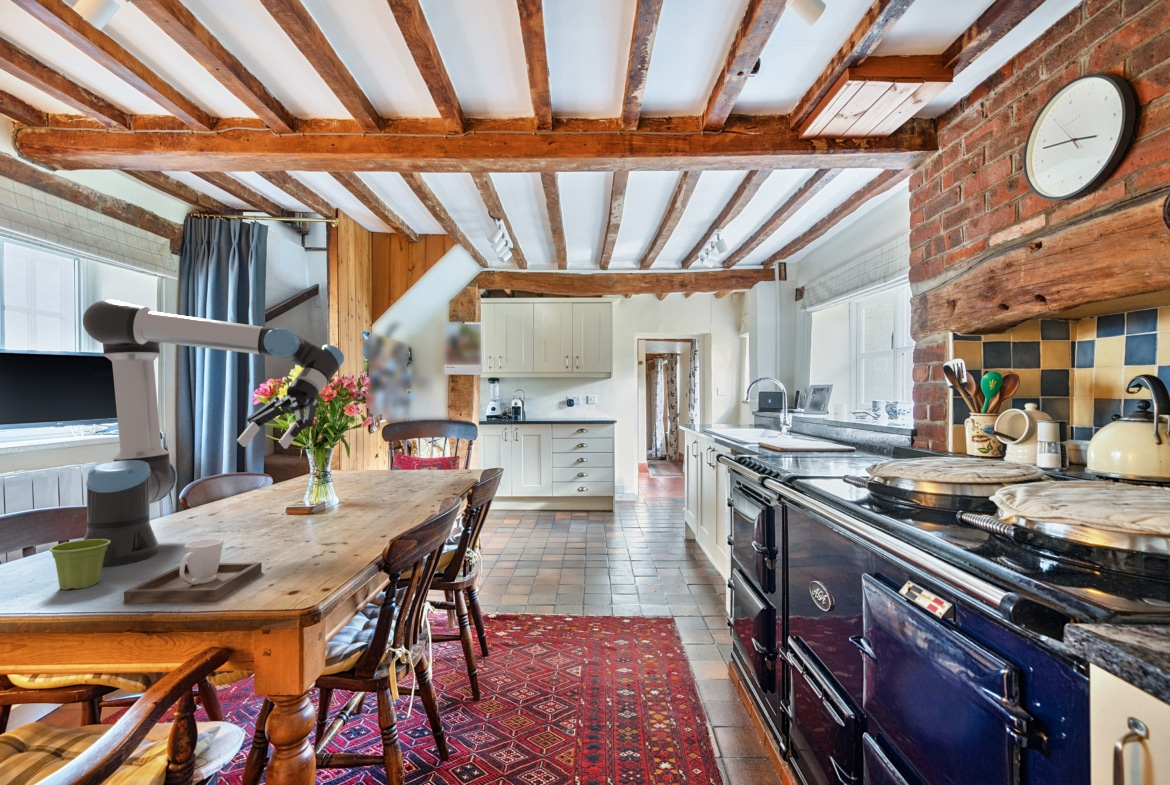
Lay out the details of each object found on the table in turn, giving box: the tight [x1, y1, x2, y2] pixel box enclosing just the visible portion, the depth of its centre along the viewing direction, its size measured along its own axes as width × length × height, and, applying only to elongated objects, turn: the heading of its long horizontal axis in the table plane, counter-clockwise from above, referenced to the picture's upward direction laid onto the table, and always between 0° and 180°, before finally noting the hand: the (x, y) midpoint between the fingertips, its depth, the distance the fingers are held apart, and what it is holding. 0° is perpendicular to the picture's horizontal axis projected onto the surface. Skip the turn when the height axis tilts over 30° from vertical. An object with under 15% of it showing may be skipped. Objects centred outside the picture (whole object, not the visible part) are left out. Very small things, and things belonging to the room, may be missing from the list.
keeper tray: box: [123, 561, 263, 605], centre depth 112 cm, size 17×17×2 cm
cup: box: [179, 537, 225, 585], centre depth 112 cm, size 7×10×8 cm
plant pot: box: [48, 539, 111, 591], centre depth 113 cm, size 9×9×9 cm
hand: (261, 444), depth 138 cm, fingers open, 13 cm apart
